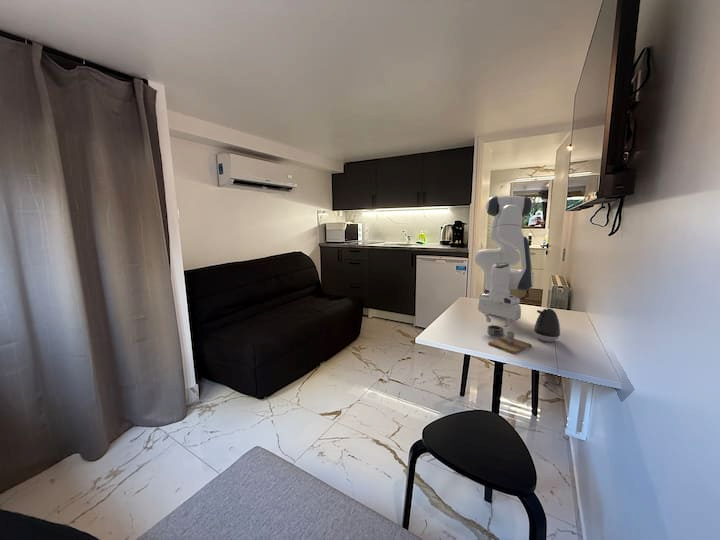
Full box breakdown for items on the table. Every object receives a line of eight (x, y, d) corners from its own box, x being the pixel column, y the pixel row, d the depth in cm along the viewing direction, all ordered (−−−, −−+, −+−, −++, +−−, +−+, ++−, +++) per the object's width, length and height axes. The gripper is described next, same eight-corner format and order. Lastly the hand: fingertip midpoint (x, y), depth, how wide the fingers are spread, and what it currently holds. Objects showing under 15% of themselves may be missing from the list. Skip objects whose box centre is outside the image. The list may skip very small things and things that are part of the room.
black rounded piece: (528, 335, 143) (531, 305, 140) (550, 335, 143) (553, 305, 140) (540, 344, 133) (543, 311, 130) (564, 344, 132) (567, 311, 130)
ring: (492, 330, 150) (493, 324, 150) (505, 334, 145) (505, 328, 144) (485, 332, 147) (485, 327, 146) (497, 337, 141) (497, 331, 141)
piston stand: (505, 337, 140) (506, 325, 139) (531, 346, 131) (532, 333, 130) (488, 344, 133) (489, 331, 132) (514, 354, 123) (515, 340, 122)
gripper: (476, 293, 149) (474, 320, 151) (516, 301, 132) (514, 331, 134) (483, 292, 153) (481, 318, 154) (523, 299, 136) (521, 328, 138)
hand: (497, 324), depth 144 cm, fingers open, 8 cm apart
